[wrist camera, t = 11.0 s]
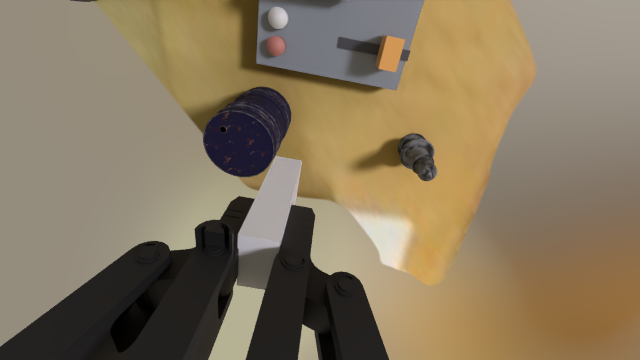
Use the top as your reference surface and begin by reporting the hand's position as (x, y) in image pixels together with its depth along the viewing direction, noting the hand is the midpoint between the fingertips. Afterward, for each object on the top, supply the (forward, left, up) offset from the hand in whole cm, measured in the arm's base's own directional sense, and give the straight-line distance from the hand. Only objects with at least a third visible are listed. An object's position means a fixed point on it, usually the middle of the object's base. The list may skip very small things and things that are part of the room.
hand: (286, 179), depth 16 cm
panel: (+1, +10, -34) cm, 36 cm away
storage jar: (-9, -8, -35) cm, 37 cm away
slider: (+9, +6, -30) cm, 32 cm away
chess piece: (+19, -9, -35) cm, 41 cm away
